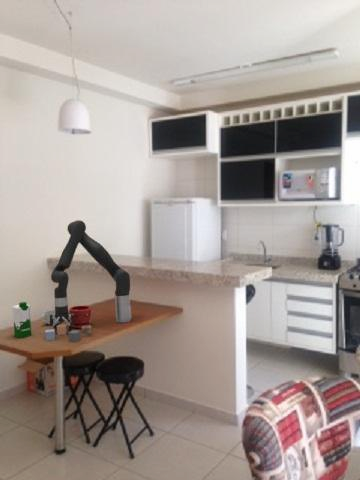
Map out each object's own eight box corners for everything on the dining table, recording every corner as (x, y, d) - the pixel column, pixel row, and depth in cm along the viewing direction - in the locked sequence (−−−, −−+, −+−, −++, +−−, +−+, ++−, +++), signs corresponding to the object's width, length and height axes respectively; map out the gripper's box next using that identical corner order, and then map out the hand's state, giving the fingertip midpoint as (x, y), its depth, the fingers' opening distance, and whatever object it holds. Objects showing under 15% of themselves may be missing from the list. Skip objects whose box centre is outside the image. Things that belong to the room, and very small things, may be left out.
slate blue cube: (55, 337, 247) (54, 328, 246) (55, 339, 242) (54, 331, 242) (46, 338, 245) (45, 329, 245) (46, 341, 240) (45, 332, 240)
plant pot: (80, 330, 258) (79, 311, 257) (65, 327, 265) (64, 308, 264) (96, 324, 269) (95, 306, 268) (81, 322, 276) (80, 304, 275)
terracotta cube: (68, 332, 256) (68, 324, 255) (65, 334, 251) (65, 326, 250) (60, 332, 256) (59, 324, 255) (57, 334, 251) (57, 326, 251)
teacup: (58, 320, 282) (57, 308, 282) (65, 323, 274) (64, 311, 273) (37, 324, 274) (36, 312, 273) (43, 328, 265) (43, 315, 265)
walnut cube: (91, 333, 251) (91, 325, 251) (91, 336, 247) (90, 327, 246) (83, 334, 251) (82, 325, 250) (82, 336, 246) (81, 328, 245)
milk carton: (20, 339, 245) (17, 305, 243) (12, 336, 251) (9, 302, 249) (33, 335, 252) (31, 301, 250) (25, 332, 258) (23, 299, 256)
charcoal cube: (81, 339, 242) (80, 330, 241) (76, 342, 237) (76, 333, 236) (73, 338, 243) (73, 330, 243) (68, 341, 238) (68, 332, 238)
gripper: (75, 302, 255) (76, 329, 257) (51, 303, 256) (53, 329, 257) (71, 306, 248) (72, 333, 249) (47, 306, 248) (48, 333, 250)
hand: (62, 331), depth 253 cm, fingers open, 8 cm apart
